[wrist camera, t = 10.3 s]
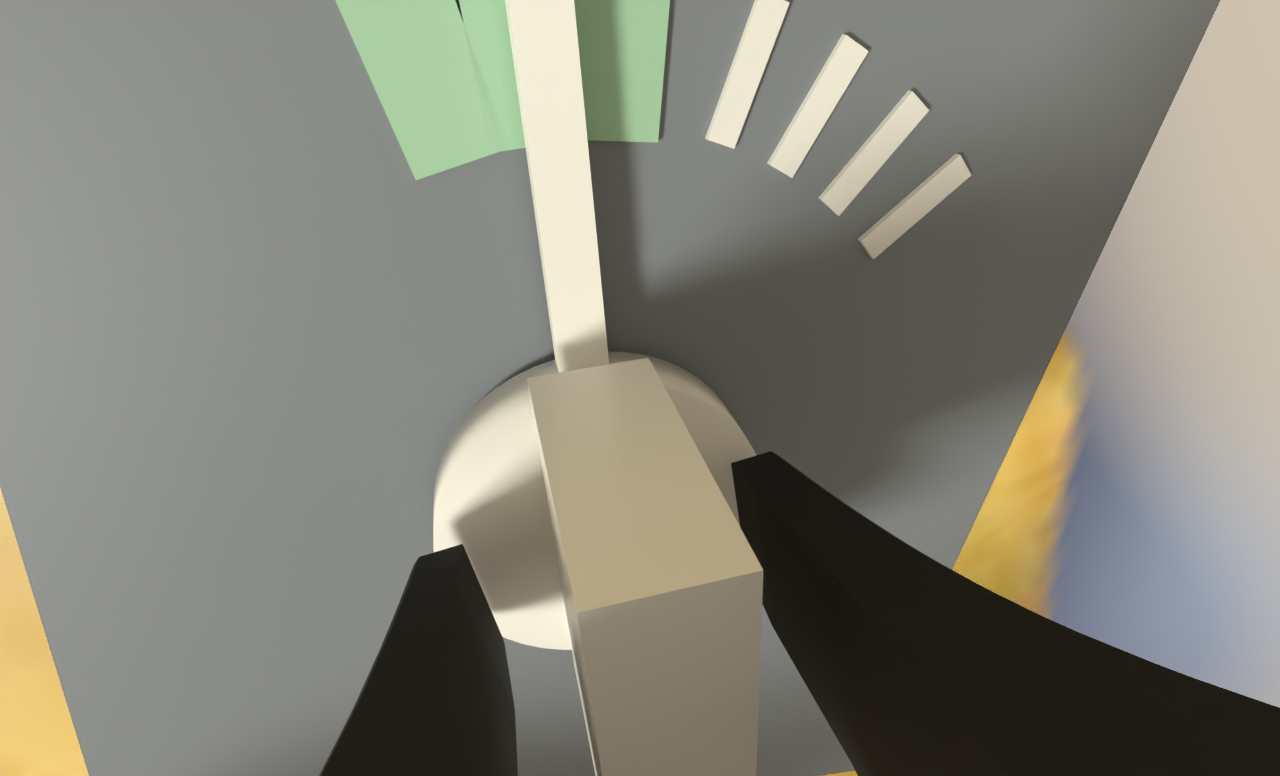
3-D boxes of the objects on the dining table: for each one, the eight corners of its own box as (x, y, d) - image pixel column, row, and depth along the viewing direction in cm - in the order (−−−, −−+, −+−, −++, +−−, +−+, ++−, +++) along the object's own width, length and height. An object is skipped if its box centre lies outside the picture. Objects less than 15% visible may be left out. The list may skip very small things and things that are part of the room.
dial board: (834, 728, 19) (859, 773, 18) (141, 811, 15) (117, 879, 14) (1172, -54, 11) (1253, -57, 10) (-182, -411, 6) (-310, -491, 5)
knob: (740, 581, 13) (876, 859, 9) (469, 643, 13) (484, 980, 8) (748, -124, 8) (1098, -234, 4) (268, -98, 7) (20, -200, 3)
